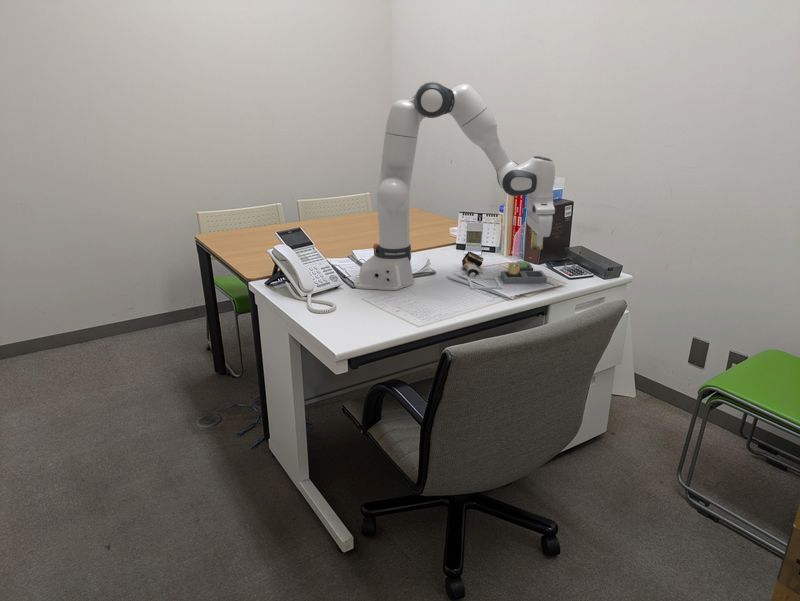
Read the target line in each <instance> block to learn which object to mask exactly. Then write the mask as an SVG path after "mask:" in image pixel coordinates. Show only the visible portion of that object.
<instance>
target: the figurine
mask: <svg viewBox="0 0 800 601" xmlns="http://www.w3.org/2000/svg"><path fill="white" fill-rule="evenodd" d="M483 261H484V257H482V256H480V255H478V254H476V253H475V252H472V251H467V253H466V254H465V256H463V258H462V261H461V265H462V269H465V270H467V273H468V278H471V277H481V275H484V272H483V271H482V269H481V268H480V267H481V266H482V265H483ZM479 273H481V274H479Z"/></svg>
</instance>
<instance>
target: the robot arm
mask: <svg viewBox="0 0 800 601" xmlns="http://www.w3.org/2000/svg"><path fill="white" fill-rule="evenodd" d="M447 114H449V115H450V116H452V118H453V119H454V121H455V122H456V123H457V125H458V126H459V128H460V130H461V132H462V133H463V134H464V135H465V136H466V137H467V138H468V139H469V141H471V142H472V144H474V145H476V146H478V147H479V148H480V149H481V150H482V151H483V152H484V154H486V156H487V158H488V159H489V161H490V162H491V164H492V166H493V167H494V169H495V172H496V178H497V182H498V185H499V187H501V189H503V191H504V192H505V193H506V194H507V195H509V196H512V197H519V196H526V206H525V208H526V210H527V214H526V216H527V217H526V224H527V226H528V227H530V229H531V232H532V231H534V232H535V233H536V234H537V240H536V245H537V246H540V245H542V239H543V240H544V238H548V237H550V236H551V232H552V229H553V228H552V226H553V218H554V217H553V215H555V213H556V208H555V205H554V191H553V190H554V189H553V188H554V185H555V180H556V167H555V166H556V165H555V162H554V161H553V159H550V158H548V157H545V156H541V155H540V156H539V155H538V156H537V155H536V156H535V155H534V156H532V157H530V159H528V160H527V161H524V162H523V163H520V164H519V163H517V162H516V161H514V160H513V159H512V158H511V157H510V156H509V154H508V151H506V149H505V148H504V147H505V146H503V144H502V143H501V140H500V139H499V136H498V128H497V127H498V125H497V122H496V120H495V118H494V115H493V113H492V111H491V110H490V108H489V106H488V104H486V102H485V100H484V99H483V98H482V97H481V95H480V94H479V93H478V92H477V90H476V89H475V88H473V86H471V84H469V83H460V84H458V85H456V86H455V87H454V88H452V89H451V88H448V87H446V86H444V85H443V84H441V83H440V82H438V81H428V82H427V81H426V82H424V83H423V84H422V85H420V86H419V87H418V89H417V91H416V92H415V94H414V96H413V97H412V98H411V99H399V100H396V101H394V102H393V103H392V105H391V106H390V110H389V113H388V116H387V119H386V120H387V121H386V125H385V132H384V141H383V147H382V155H381V167H380V176H379V182H378V183H379V184H378V187H377V190H376V205H377V206H376V208H377V219H378V243H379V244H378V243H374V244H373V245H372V249H373V255H372V256H371V257H370V258H368V259H367V260H365V261H364V262H363V263H362V265H361V266H360V268H359V273H358V275H357V276H359V277H356V276H355V277H354V278H353V286H354V288H356V289H360V290H361V289H363V290H380V291H399V290H400V289H402V288H406V287H410V286H412V285H414V283H415V279H414V274H413V270H412V264H411V259H412V246H411V240H410V236H411V235H410V229H411V228H410V188H411V182H412V175H413V170H414V163H415V158H416V150H417V143H418V137H419V136H418V135H419V130H420V125H421V122H422V121H423V119H424V118H430V119H434V118H435V119H436V118H438V117H441V116H444V115H447Z"/></svg>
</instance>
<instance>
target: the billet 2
mask: <svg viewBox="0 0 800 601" xmlns="http://www.w3.org/2000/svg"><path fill="white" fill-rule="evenodd" d="M536 240H537V234H536V233H535V232H534V231H532V230H531V239H530V241H531V242H530V249H531V250H532V251H533V250H534V251H541V250H543V244H544V243H543V242H544V238H543V239H542V245H540V246H537V245H536Z"/></svg>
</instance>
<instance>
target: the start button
mask: <svg viewBox="0 0 800 601" xmlns="http://www.w3.org/2000/svg"><path fill="white" fill-rule="evenodd" d="M516 263H519V264H520V268H527V263H529V262H528V261H526V260H517V261H516Z"/></svg>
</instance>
